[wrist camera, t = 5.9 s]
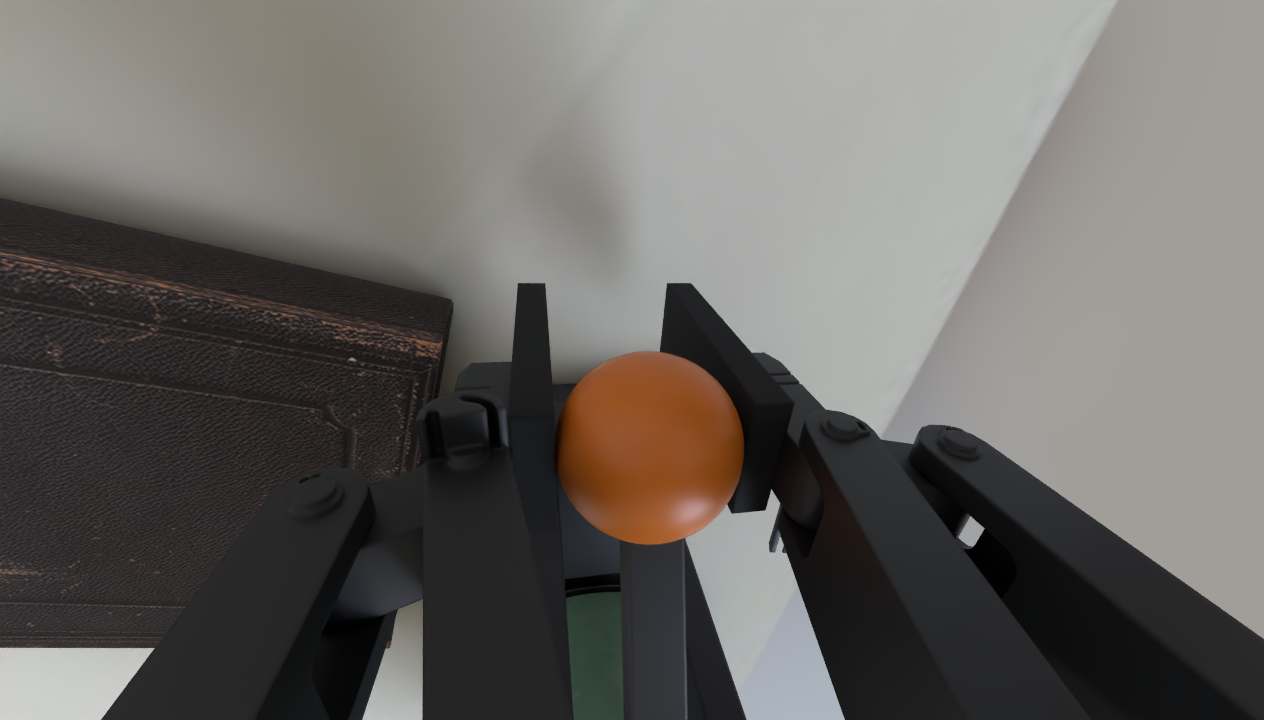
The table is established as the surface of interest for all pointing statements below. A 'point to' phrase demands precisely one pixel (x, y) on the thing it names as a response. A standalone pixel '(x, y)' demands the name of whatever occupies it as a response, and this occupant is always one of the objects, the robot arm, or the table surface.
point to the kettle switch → (650, 499)
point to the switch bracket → (597, 553)
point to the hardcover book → (177, 412)
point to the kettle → (595, 646)
